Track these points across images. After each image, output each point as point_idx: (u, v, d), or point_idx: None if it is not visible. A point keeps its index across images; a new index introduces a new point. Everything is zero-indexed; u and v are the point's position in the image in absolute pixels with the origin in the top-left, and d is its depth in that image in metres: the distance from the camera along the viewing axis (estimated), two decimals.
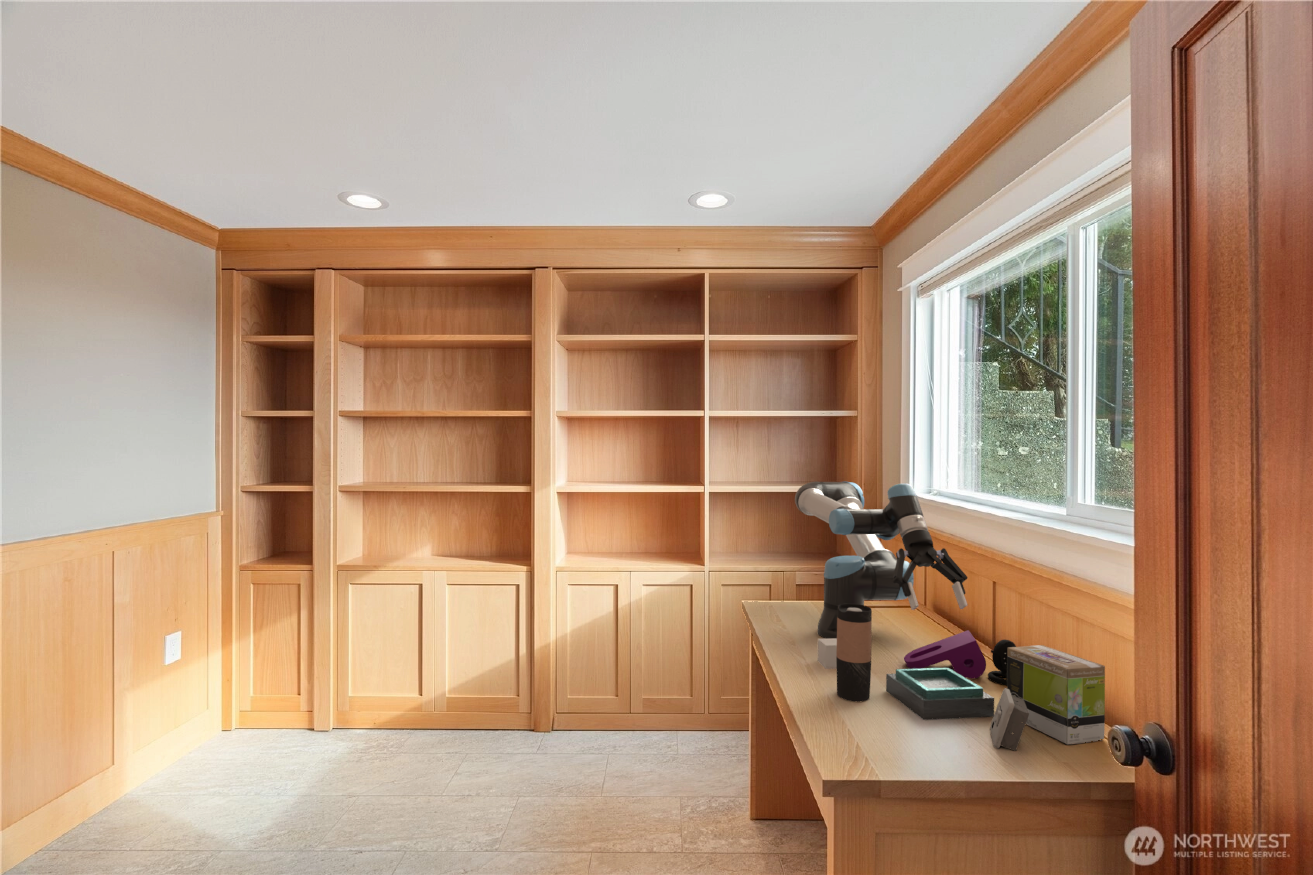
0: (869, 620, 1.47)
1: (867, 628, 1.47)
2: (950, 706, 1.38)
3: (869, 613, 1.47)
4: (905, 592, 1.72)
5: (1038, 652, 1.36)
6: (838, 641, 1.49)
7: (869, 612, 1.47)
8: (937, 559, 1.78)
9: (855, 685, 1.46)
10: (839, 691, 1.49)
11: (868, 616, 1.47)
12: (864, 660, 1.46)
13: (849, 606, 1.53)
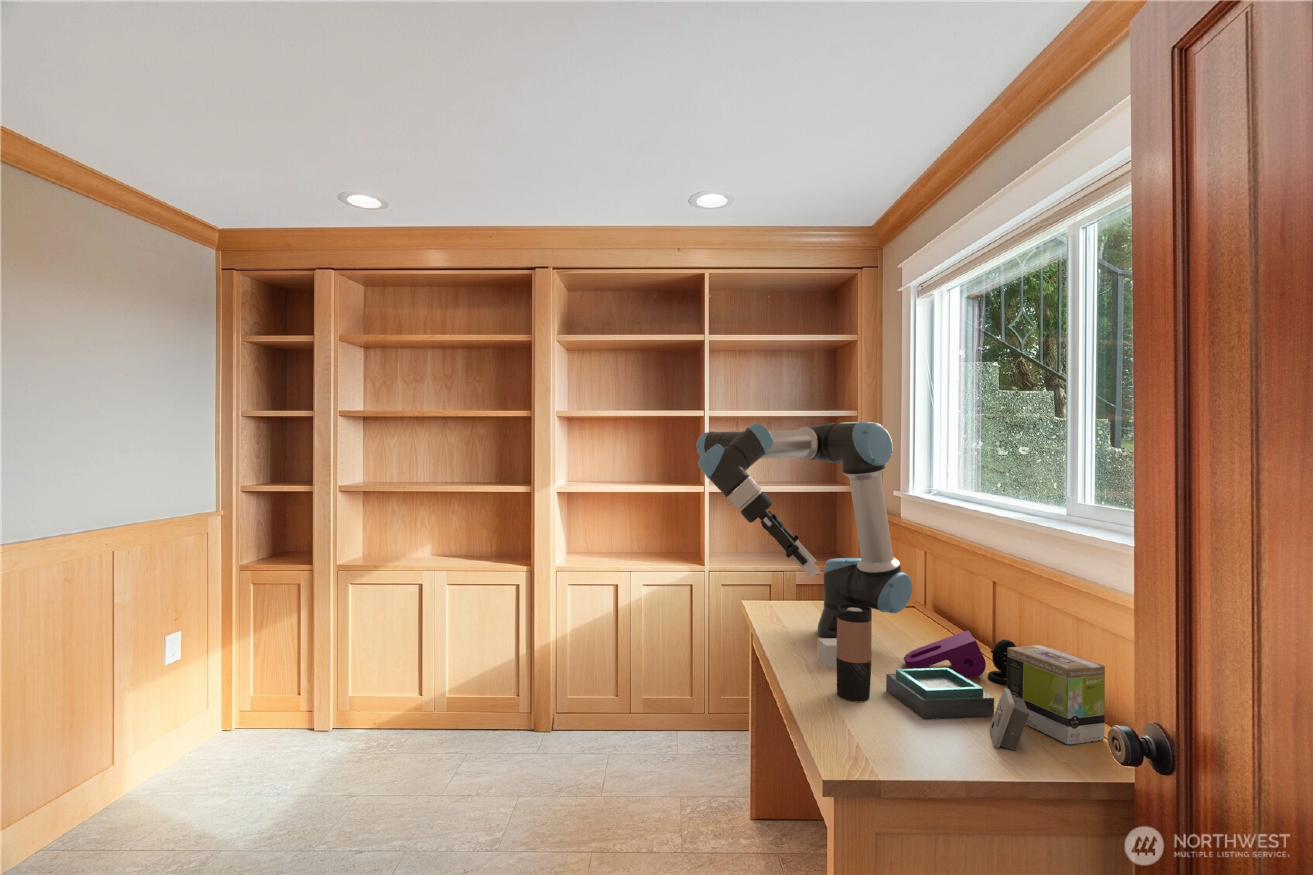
0: (869, 620, 1.47)
1: (867, 628, 1.47)
2: (950, 706, 1.38)
3: (869, 613, 1.47)
4: None
5: (1038, 652, 1.36)
6: (838, 641, 1.49)
7: (869, 612, 1.47)
8: (769, 533, 1.51)
9: (855, 685, 1.46)
10: (839, 691, 1.49)
11: (868, 616, 1.47)
12: (864, 660, 1.46)
13: (849, 606, 1.53)
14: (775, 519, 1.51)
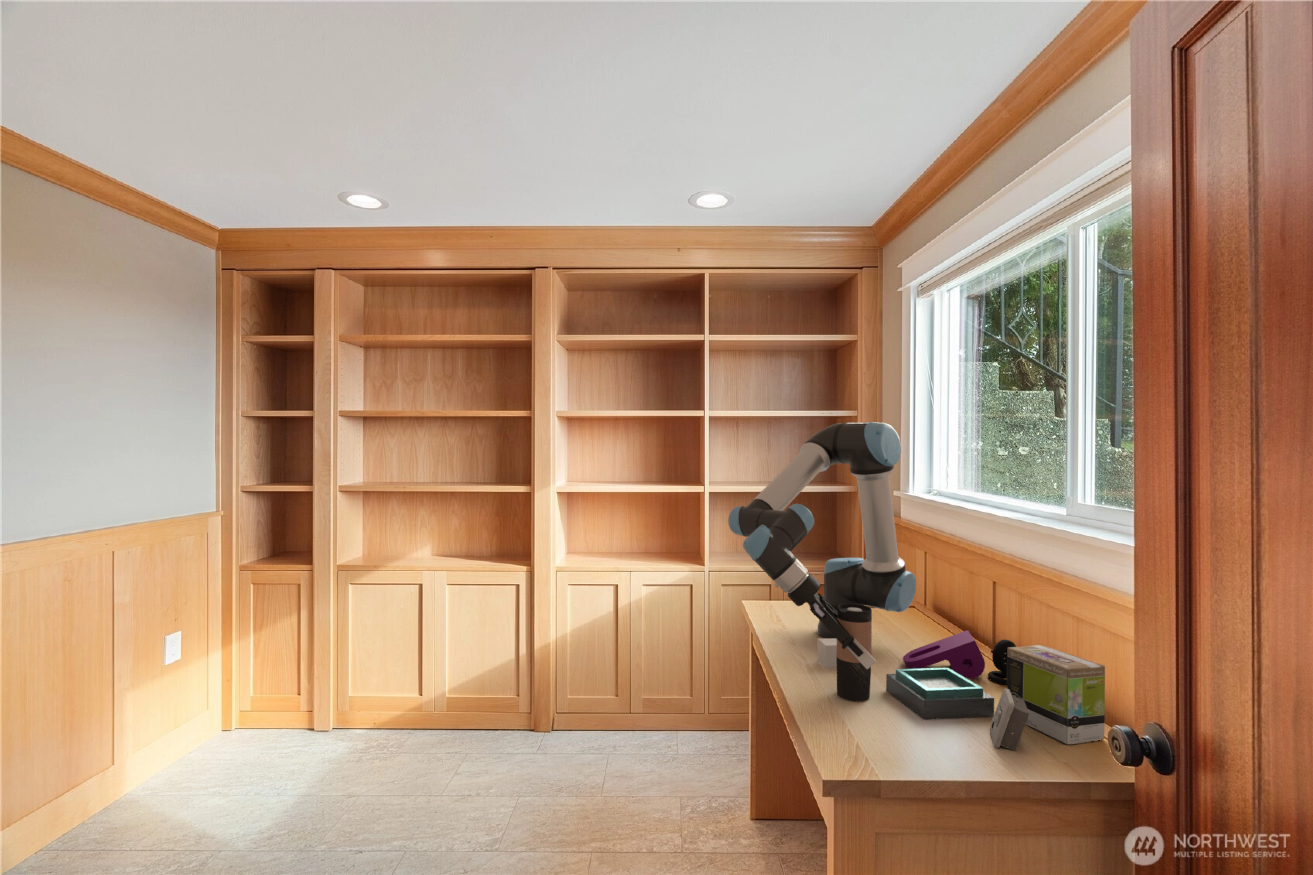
0: (869, 620, 1.47)
1: (867, 628, 1.47)
2: (950, 706, 1.38)
3: (869, 613, 1.47)
4: None
5: (1038, 652, 1.36)
6: (838, 641, 1.49)
7: (869, 612, 1.47)
8: None
9: (855, 685, 1.46)
10: (839, 691, 1.49)
11: (868, 616, 1.47)
12: None
13: (849, 606, 1.53)
14: (825, 605, 1.49)
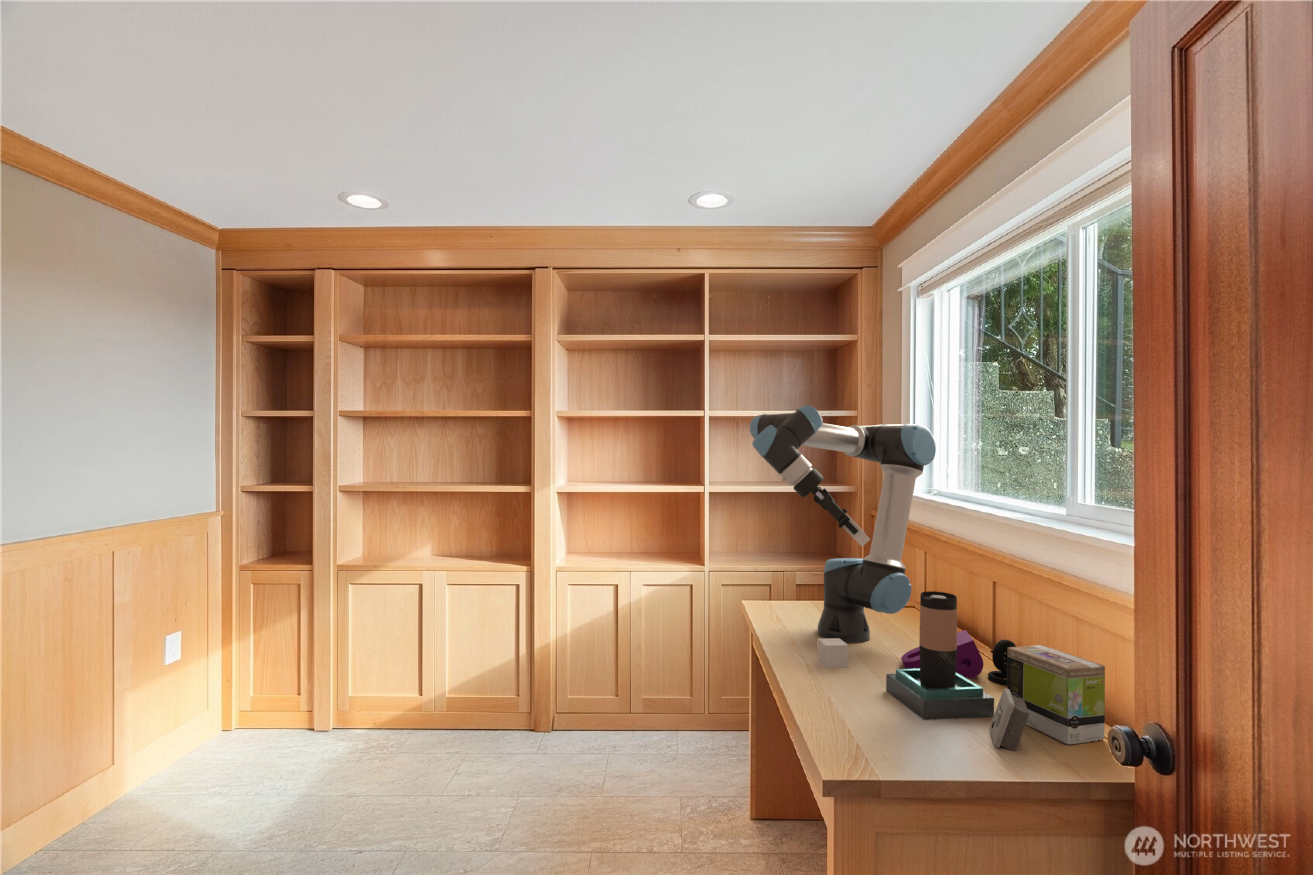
0: (955, 607, 1.44)
1: (953, 615, 1.43)
2: (950, 706, 1.38)
3: (955, 600, 1.44)
4: None
5: (1038, 652, 1.36)
6: (922, 629, 1.46)
7: (955, 599, 1.44)
8: (821, 506, 1.64)
9: (942, 674, 1.42)
10: (924, 680, 1.45)
11: (954, 604, 1.43)
12: (950, 648, 1.43)
13: (931, 594, 1.50)
14: (826, 493, 1.64)
